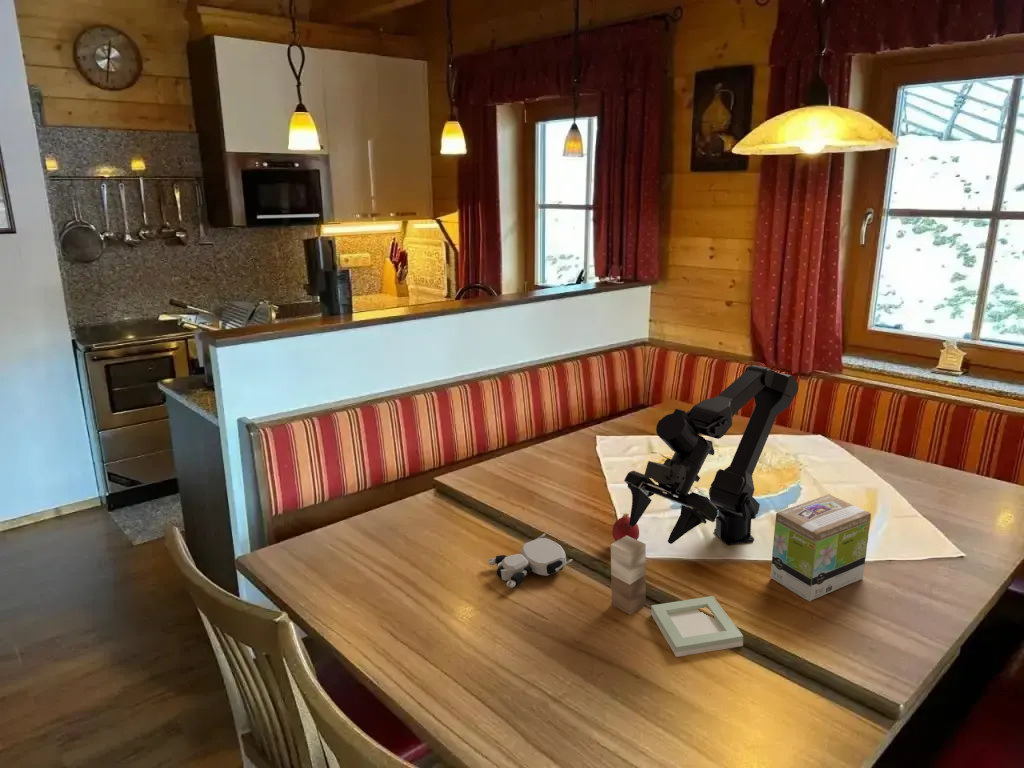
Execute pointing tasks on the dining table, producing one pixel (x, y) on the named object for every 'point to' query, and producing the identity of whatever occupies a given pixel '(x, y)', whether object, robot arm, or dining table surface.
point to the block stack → (628, 574)
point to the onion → (624, 528)
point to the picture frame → (696, 626)
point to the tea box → (819, 546)
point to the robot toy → (531, 561)
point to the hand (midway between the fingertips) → (649, 534)
